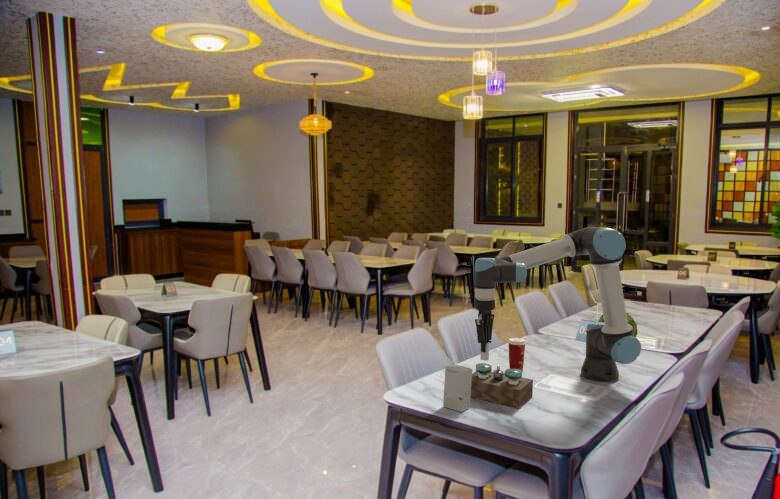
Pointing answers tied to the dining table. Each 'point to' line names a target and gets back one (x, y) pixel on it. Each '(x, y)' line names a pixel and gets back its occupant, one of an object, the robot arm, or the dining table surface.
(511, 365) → the paper cup
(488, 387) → the mount
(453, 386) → the skincare box
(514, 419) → the dining table surface
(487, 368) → the knob
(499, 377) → the potentiometer
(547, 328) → the dining table surface
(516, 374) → the green capped bottle
